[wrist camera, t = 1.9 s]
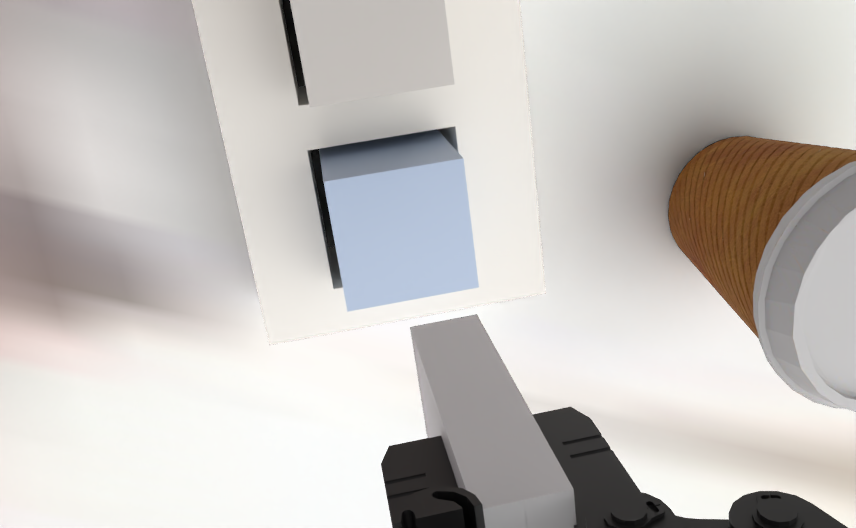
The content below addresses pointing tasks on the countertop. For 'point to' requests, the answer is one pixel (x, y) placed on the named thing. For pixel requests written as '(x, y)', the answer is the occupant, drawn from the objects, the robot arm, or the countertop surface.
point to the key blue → (399, 218)
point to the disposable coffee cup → (779, 252)
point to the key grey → (371, 47)
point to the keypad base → (362, 121)
